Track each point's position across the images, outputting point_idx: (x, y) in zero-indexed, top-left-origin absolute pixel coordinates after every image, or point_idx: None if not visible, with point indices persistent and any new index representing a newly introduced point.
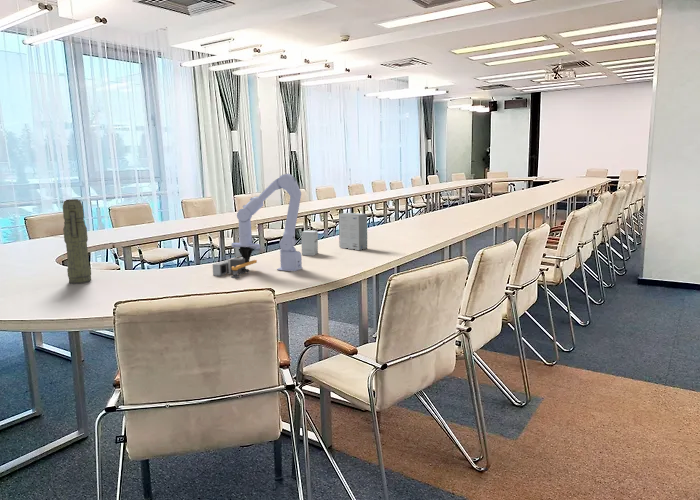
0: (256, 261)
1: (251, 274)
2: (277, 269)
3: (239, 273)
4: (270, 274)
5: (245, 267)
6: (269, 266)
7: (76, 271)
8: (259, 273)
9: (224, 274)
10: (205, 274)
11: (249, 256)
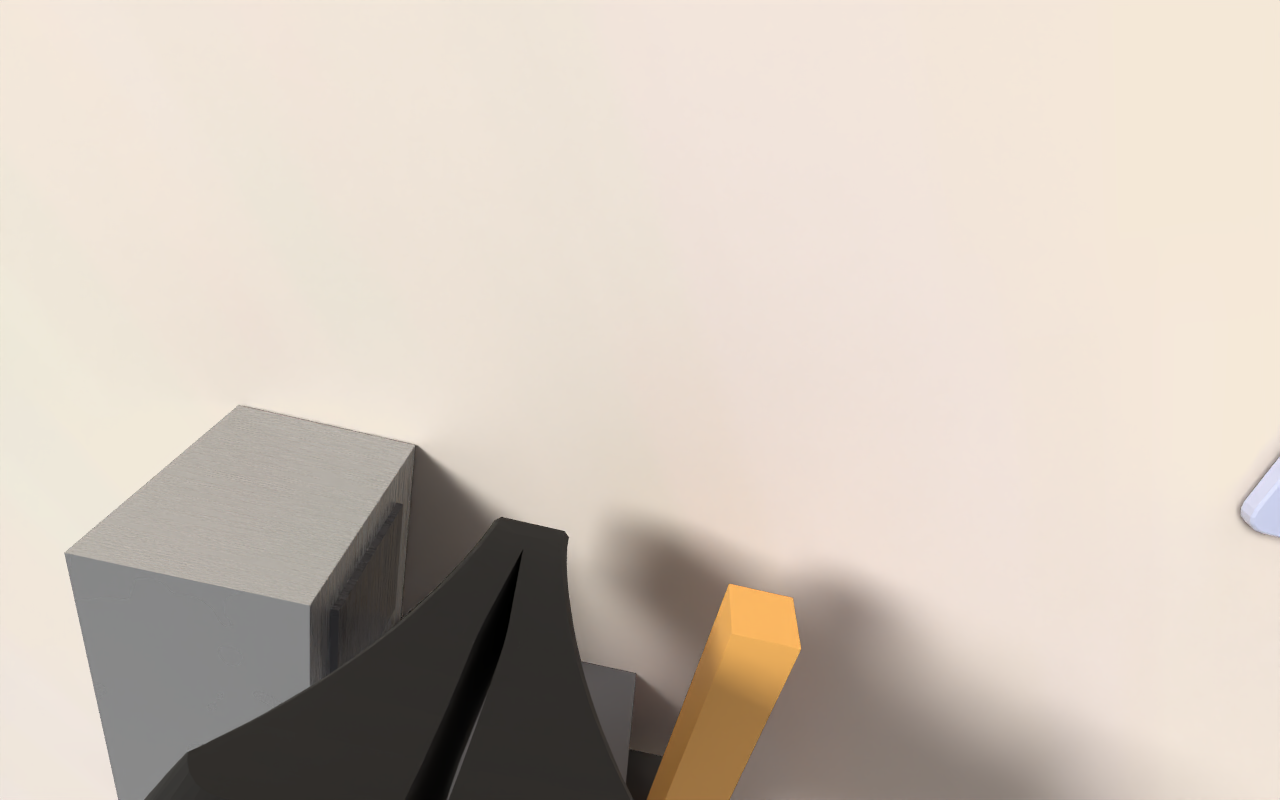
0: (794, 627)
1: (778, 771)
2: (1254, 527)
3: None
4: (1094, 765)
5: (628, 754)
6: (1021, 108)
7: None
8: (894, 721)
9: None
10: None
11: (557, 656)
